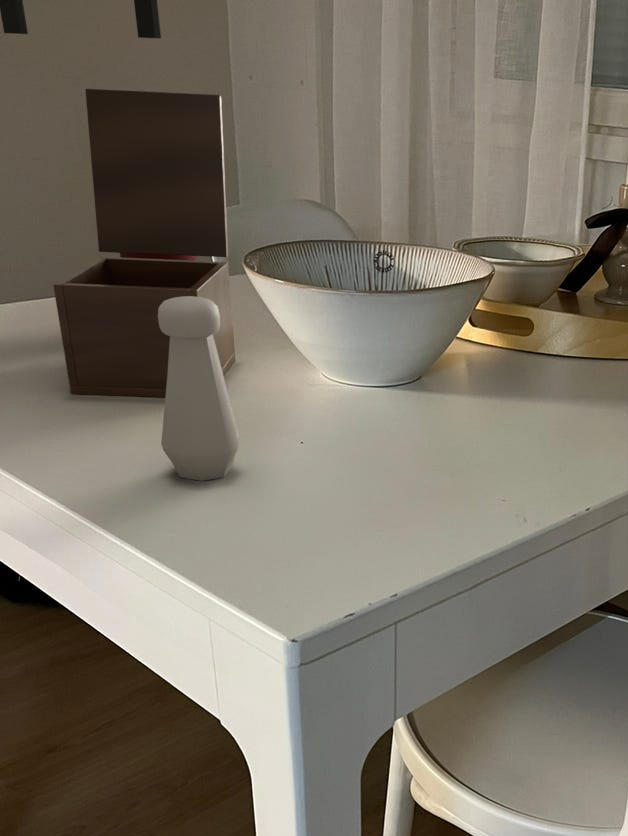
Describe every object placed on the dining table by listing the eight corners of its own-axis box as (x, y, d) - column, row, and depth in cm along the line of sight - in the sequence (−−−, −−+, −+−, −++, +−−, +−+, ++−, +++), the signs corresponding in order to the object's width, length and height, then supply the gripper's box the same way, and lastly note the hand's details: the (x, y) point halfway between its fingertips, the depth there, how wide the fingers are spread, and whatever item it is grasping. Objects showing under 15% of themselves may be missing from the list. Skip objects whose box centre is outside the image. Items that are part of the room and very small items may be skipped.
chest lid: (219, 94, 97) (221, 95, 98) (85, 88, 96) (87, 89, 97) (226, 257, 102) (228, 257, 103) (98, 251, 101) (101, 251, 102)
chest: (207, 399, 96) (196, 290, 91) (70, 394, 95) (52, 284, 90) (235, 360, 107) (227, 262, 102) (114, 355, 107) (100, 256, 102)
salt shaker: (148, 473, 79) (127, 299, 73) (202, 452, 83) (186, 287, 77) (204, 490, 77) (187, 312, 70) (257, 468, 81) (245, 298, 74)
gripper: (-91, -311, 74) (-27, 32, 84) (198, -239, 90) (221, 40, 101) (-135, -295, 78) (-69, 30, 88) (149, -229, 94) (176, 38, 105)
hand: (86, 36), depth 95 cm, fingers open, 13 cm apart
